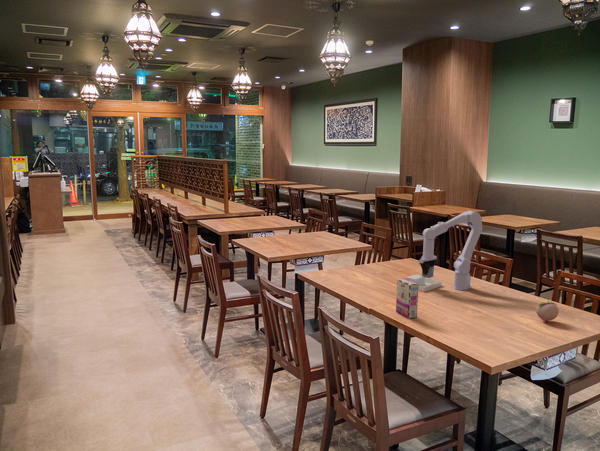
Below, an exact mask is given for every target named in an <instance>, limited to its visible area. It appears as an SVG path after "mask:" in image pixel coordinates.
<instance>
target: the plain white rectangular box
mask: <svg viewBox="0 0 600 451" xmlns="http://www.w3.org/2000/svg"><path fill="white" fill-rule="evenodd" d="M425 278H426V277H422V274H421V275H420V274H412V275H410V276H406V277H405V279H408V280H410V281H412V282H415V283H417V284H418V286H420V285H423V284H425Z"/></svg>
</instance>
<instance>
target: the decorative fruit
mask: <svg viewBox="0 0 600 451" xmlns="http://www.w3.org/2000/svg"><path fill="white" fill-rule="evenodd" d="M557 306H558V305H557V303H555V302H551V301H550V302H549V301H548V302H543V301H542V302H540V303H538V304H537V305H536V308H535V313H536V315H537V317H538V318H539V319H540V320H542V321H544V322H546V323H547V322H550V321H553V320H555V319H556V318H557V317H558V315H559V309H558V307H557Z"/></svg>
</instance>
